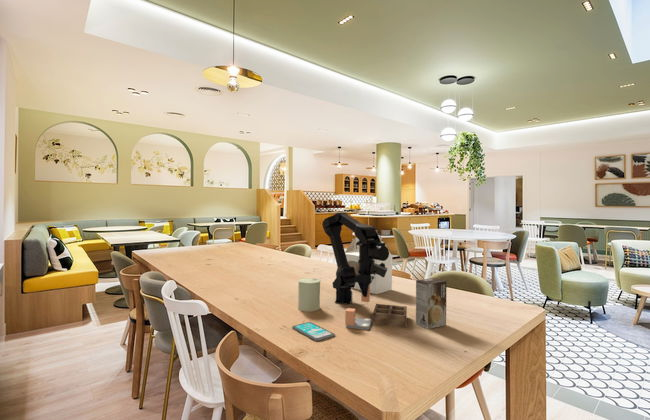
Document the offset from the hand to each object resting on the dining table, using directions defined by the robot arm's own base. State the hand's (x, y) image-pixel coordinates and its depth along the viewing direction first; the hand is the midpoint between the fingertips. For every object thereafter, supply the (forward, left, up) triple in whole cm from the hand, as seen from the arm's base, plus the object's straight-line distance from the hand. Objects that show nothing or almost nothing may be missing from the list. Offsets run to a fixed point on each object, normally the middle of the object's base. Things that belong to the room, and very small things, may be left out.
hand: (365, 295), depth 133 cm
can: (-23, -3, -7) cm, 24 cm away
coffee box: (+25, -8, -7) cm, 27 cm away
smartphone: (-14, -27, -7) cm, 31 cm away
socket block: (+10, -8, -6) cm, 15 cm away
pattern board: (0, -16, -6) cm, 17 cm away
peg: (0, 0, -2) cm, 2 cm away
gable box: (-4, +38, -7) cm, 39 cm away
